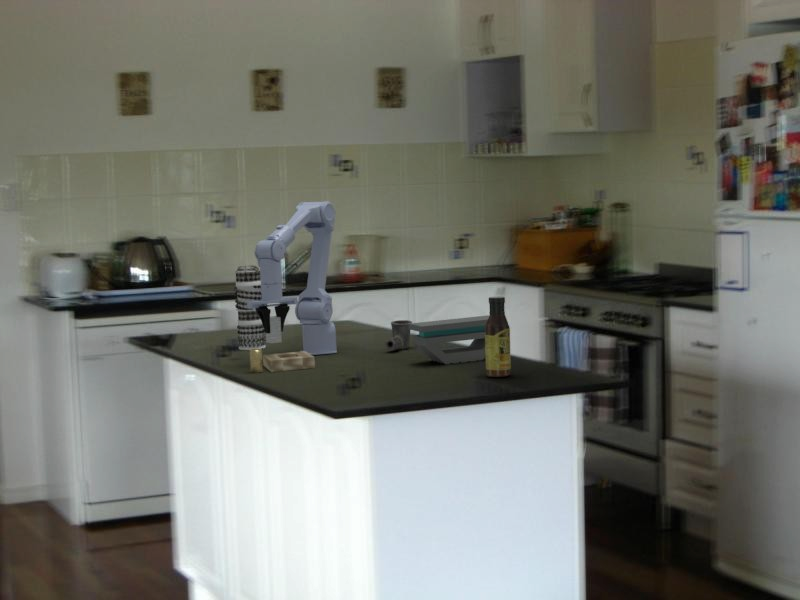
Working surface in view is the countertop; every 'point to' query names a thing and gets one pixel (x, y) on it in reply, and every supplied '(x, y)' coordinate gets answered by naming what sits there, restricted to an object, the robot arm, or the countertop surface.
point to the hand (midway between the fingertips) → (273, 332)
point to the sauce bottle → (497, 340)
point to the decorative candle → (249, 318)
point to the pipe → (399, 335)
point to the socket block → (288, 361)
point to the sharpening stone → (451, 338)
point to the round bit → (256, 360)
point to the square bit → (274, 330)
